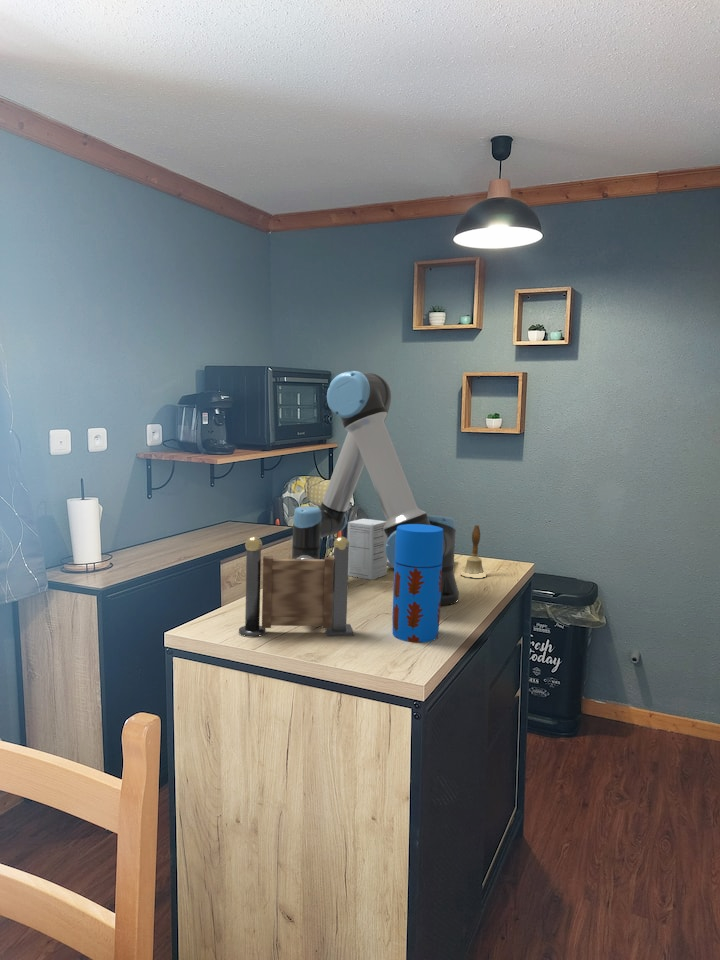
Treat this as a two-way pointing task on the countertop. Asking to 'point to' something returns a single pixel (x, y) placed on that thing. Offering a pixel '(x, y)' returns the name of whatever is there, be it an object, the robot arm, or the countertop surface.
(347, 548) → the post
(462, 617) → the countertop surface
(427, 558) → the thermos
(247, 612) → the hinge post
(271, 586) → the walnut gate
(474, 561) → the hand bell
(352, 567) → the supplement box
